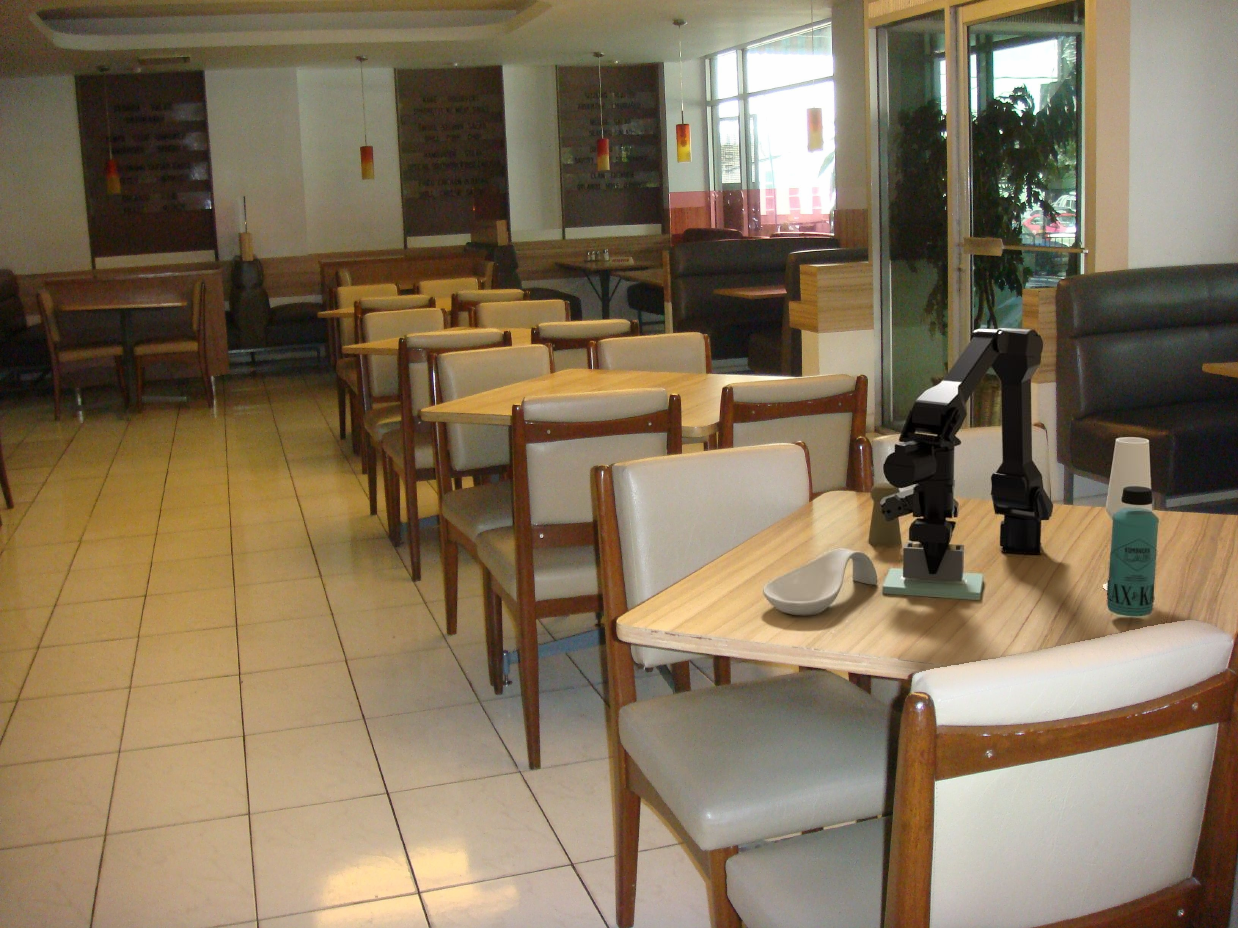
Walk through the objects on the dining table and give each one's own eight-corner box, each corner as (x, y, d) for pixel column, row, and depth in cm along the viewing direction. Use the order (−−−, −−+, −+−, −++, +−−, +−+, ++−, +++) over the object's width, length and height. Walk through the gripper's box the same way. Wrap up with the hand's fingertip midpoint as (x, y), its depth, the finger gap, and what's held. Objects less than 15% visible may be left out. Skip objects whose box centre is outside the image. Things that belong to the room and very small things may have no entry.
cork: (902, 546, 219) (902, 487, 217) (868, 546, 220) (868, 487, 218) (901, 537, 225) (901, 480, 223) (868, 537, 226) (868, 479, 224)
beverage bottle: (1097, 613, 181) (1103, 483, 177) (1140, 610, 182) (1147, 481, 177) (1118, 628, 175) (1125, 494, 171) (1163, 625, 175) (1171, 491, 171)
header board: (983, 580, 198) (984, 538, 197) (979, 600, 189) (980, 555, 187) (890, 574, 203) (890, 533, 202) (882, 593, 194) (882, 550, 192)
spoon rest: (810, 629, 180) (810, 583, 178) (748, 613, 188) (747, 568, 187) (895, 589, 196) (896, 547, 195) (834, 576, 205) (834, 535, 203)
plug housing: (963, 574, 196) (964, 544, 195) (961, 581, 193) (962, 551, 192) (905, 570, 199) (905, 541, 198) (902, 577, 196) (903, 547, 195)
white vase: (1127, 597, 188) (1135, 446, 182) (1092, 586, 193) (1099, 439, 188) (1157, 589, 191) (1165, 440, 185) (1121, 579, 196) (1129, 434, 191)
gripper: (891, 462, 204) (890, 551, 207) (876, 487, 186) (875, 584, 190) (959, 464, 200) (957, 555, 203) (950, 490, 183) (948, 589, 186)
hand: (933, 570), depth 196 cm, fingers closed on plug housing, 4 cm apart
